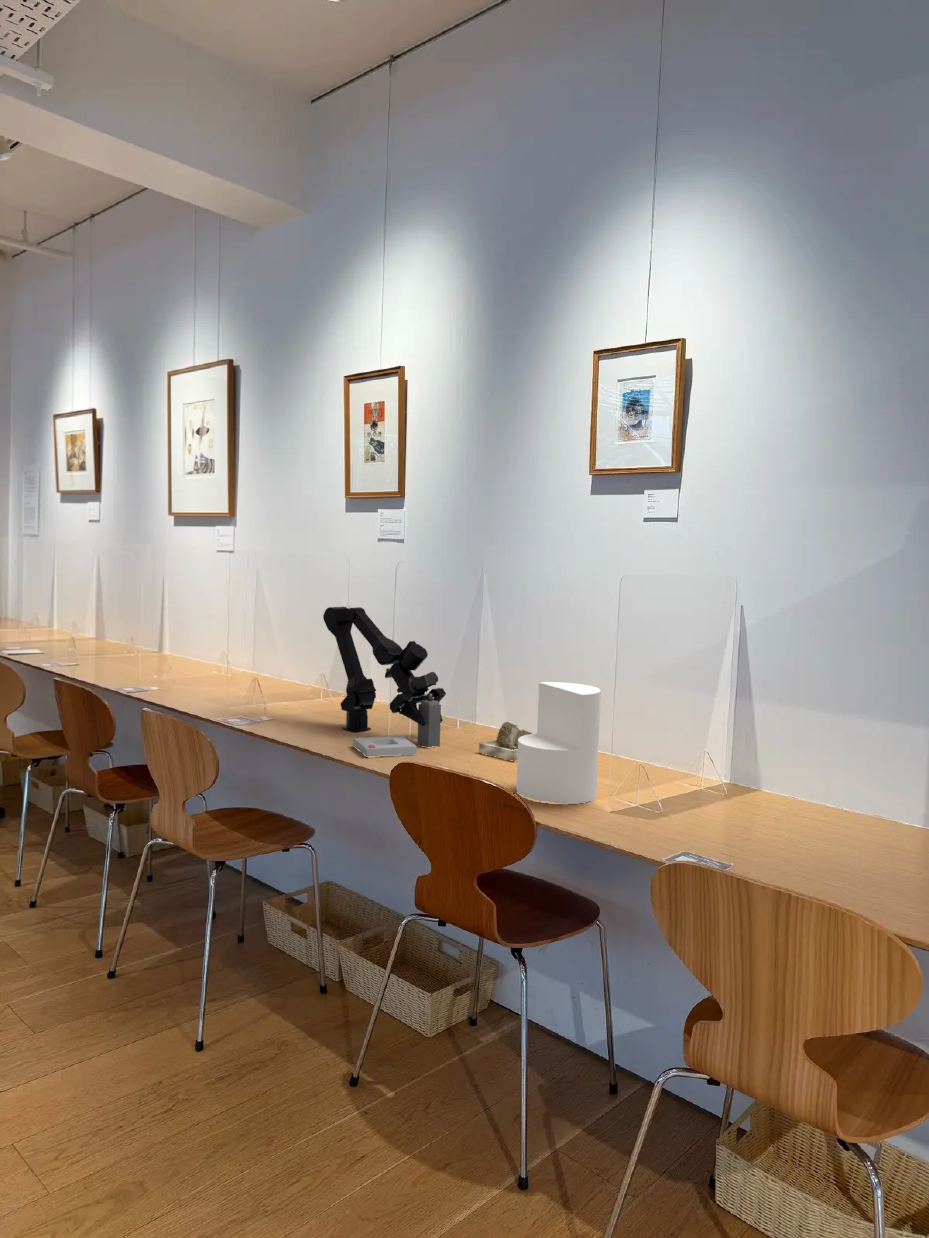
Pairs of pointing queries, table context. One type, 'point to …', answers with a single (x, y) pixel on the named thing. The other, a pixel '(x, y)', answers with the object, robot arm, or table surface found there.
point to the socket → (385, 746)
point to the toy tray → (498, 750)
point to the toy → (510, 735)
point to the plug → (429, 722)
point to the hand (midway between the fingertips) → (432, 723)
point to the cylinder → (562, 745)
